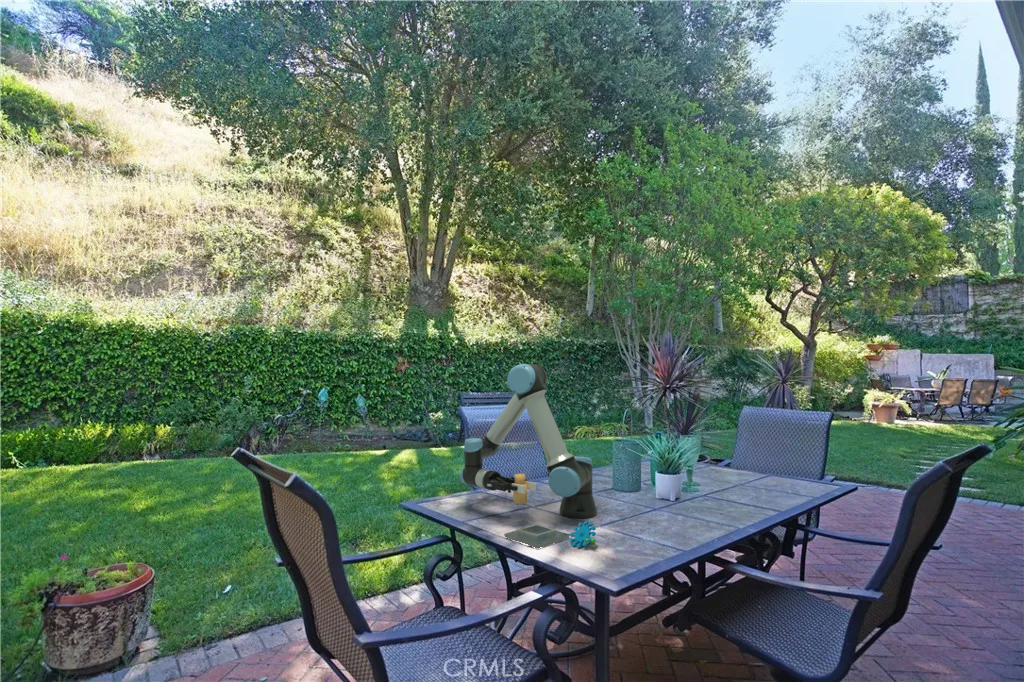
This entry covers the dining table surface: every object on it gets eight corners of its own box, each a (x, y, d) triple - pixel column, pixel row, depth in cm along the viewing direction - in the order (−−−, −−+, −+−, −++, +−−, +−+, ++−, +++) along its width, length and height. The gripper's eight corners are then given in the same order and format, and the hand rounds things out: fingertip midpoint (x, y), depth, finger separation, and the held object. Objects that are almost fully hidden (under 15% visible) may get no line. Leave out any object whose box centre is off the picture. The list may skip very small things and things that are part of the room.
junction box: (536, 528, 200) (535, 520, 200) (569, 538, 188) (569, 529, 188) (504, 538, 189) (504, 529, 189) (537, 549, 177) (537, 540, 177)
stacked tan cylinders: (520, 500, 208) (519, 472, 209) (530, 502, 205) (529, 474, 205) (510, 502, 205) (510, 474, 205) (520, 504, 201) (519, 476, 202)
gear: (563, 537, 184) (582, 515, 187) (573, 547, 186) (591, 525, 189) (581, 552, 174) (601, 528, 177) (591, 562, 177) (610, 538, 179)
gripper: (505, 485, 224) (546, 494, 207) (471, 493, 212) (512, 503, 195) (505, 467, 224) (546, 474, 208) (471, 473, 212) (512, 482, 195)
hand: (529, 488), depth 201 cm, fingers closed on stacked tan cylinders, 5 cm apart
